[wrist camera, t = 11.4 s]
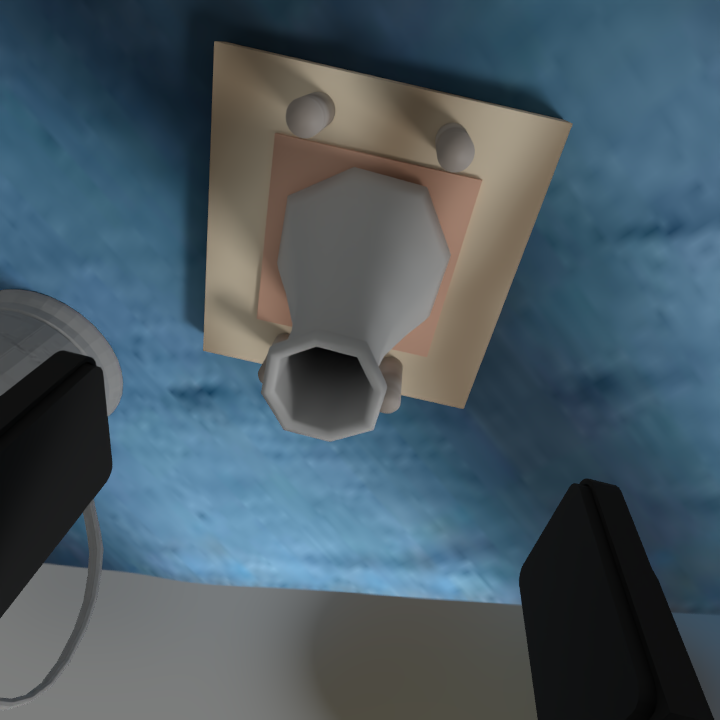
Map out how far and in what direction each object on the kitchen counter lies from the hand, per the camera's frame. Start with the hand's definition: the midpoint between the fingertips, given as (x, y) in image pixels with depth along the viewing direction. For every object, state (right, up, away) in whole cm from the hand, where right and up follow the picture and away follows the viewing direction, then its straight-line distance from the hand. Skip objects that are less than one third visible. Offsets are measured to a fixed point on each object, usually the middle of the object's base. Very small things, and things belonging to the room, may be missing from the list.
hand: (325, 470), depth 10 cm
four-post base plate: (+1, +7, +12) cm, 14 cm away
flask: (+1, +7, +11) cm, 13 cm away
